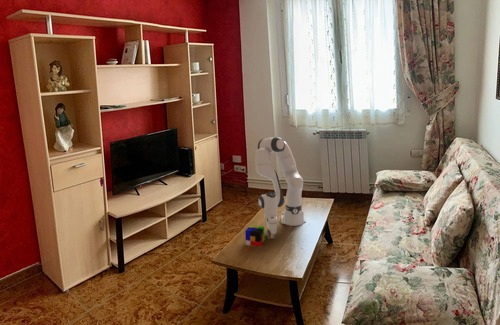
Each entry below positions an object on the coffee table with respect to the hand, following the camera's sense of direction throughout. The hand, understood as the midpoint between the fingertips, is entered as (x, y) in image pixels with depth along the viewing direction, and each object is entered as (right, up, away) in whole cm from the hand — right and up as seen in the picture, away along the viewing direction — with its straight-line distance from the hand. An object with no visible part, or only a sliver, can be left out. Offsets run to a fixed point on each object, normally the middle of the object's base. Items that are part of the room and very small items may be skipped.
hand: (271, 235), depth 286 cm
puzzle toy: (-11, -4, -8) cm, 14 cm away
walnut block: (0, -2, 0) cm, 2 cm away
